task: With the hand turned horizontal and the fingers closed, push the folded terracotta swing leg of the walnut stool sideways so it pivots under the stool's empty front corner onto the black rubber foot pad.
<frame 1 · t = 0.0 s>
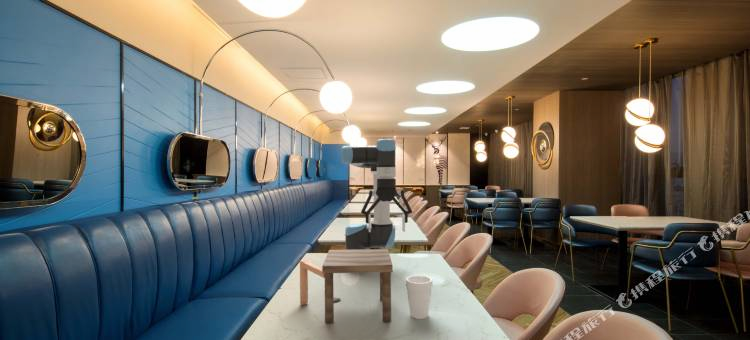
hand: (386, 231, 143), 28 cm above the table, tool pointing down, fingers open, 13 cm apart
foam cup: (419, 315, 129), on the table
stool: (358, 309, 135), on the table
swing leg: (313, 287, 134), point 9 cm above the table, hinge at 35.0°
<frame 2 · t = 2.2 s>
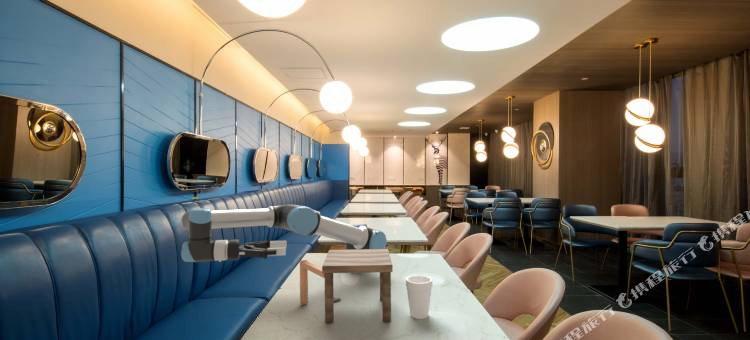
hand: (286, 247, 139), 23 cm above the table, tool horizontal, fingers open, 13 cm apart
nothing on the table moved.
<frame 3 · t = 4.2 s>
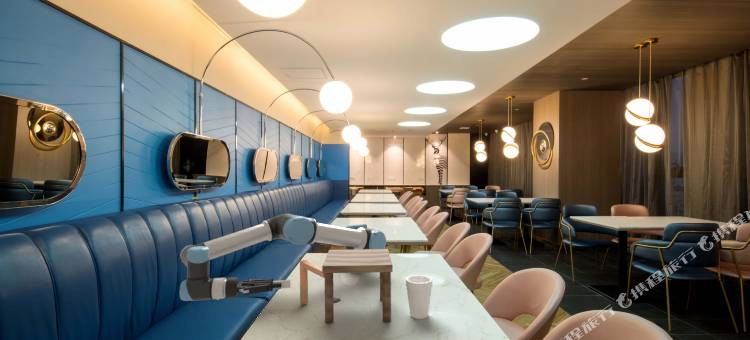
hand: (290, 283, 140), 8 cm above the table, tool horizontal, fingers closed
nothing on the table moved.
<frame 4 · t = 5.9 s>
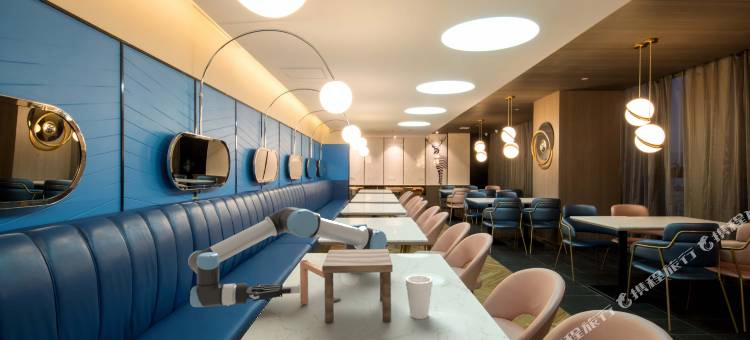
hand: (299, 288, 140), 6 cm above the table, tool horizontal, fingers closed
swing leg: (313, 287, 134), point 9 cm above the table, hinge at 34.6°, touching gripper
everything else where it was.
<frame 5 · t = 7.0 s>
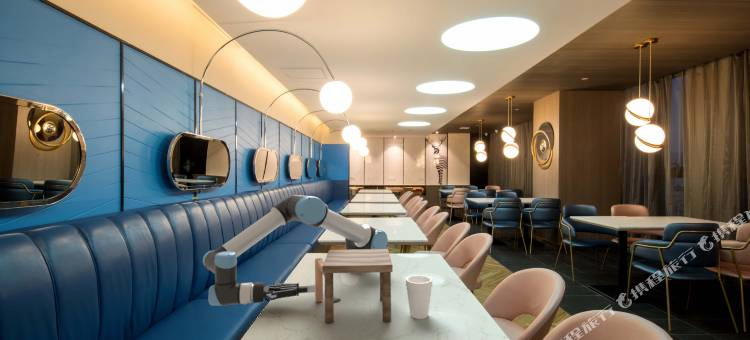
hand: (315, 288, 141), 6 cm above the table, tool horizontal, fingers closed
swing leg: (322, 286, 135), point 9 cm above the table, hinge at 17.2°, touching gripper
everything else where it was.
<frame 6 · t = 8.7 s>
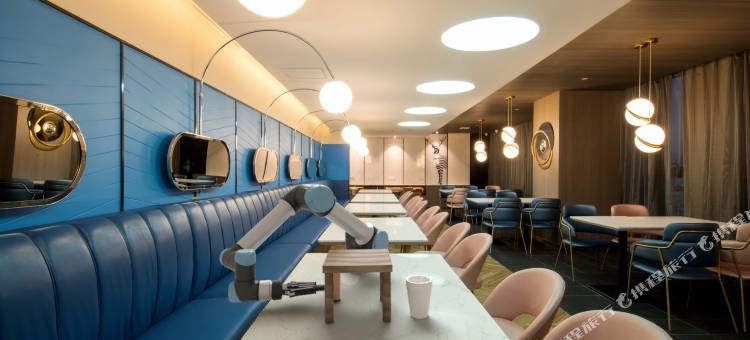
hand: (332, 286, 143), 6 cm above the table, tool horizontal, fingers closed
swing leg: (333, 285, 136), point 9 cm above the table, hinge at -2.8°, touching gripper
everything else where it was.
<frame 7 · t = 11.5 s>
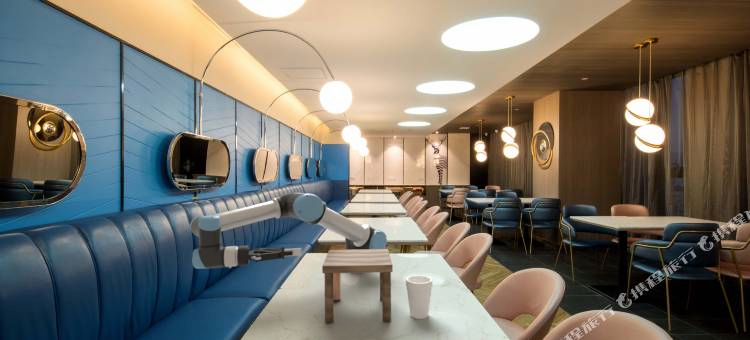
hand: (301, 251, 141), 21 cm above the table, tool horizontal, fingers closed
swing leg: (333, 285, 136), point 9 cm above the table, hinge at -3.0°
everything else where it was.
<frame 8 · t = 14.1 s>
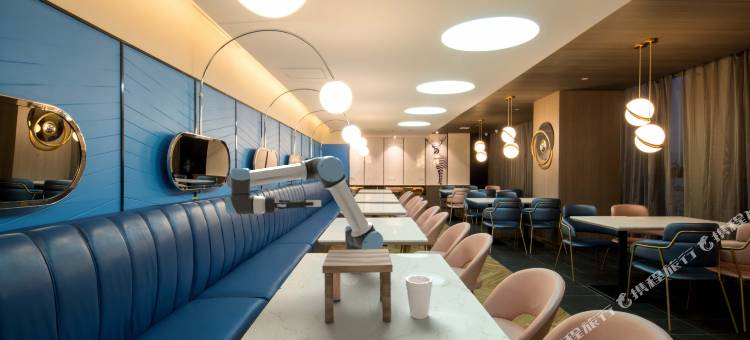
hand: (321, 203, 157), 38 cm above the table, tool horizontal, fingers closed
nothing on the table moved.
at the end: swing leg at -3° (first picture: +35°) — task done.
